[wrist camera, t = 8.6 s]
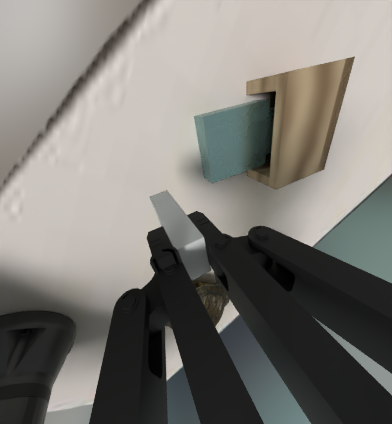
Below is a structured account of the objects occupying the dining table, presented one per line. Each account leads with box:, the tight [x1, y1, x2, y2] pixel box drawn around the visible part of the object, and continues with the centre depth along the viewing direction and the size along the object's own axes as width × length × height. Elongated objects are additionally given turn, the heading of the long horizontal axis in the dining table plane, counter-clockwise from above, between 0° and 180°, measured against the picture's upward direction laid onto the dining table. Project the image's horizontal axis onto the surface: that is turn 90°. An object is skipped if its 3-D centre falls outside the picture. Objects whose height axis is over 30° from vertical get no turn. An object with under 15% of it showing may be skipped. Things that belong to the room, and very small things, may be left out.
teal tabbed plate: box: [194, 99, 275, 183], centre depth 25 cm, size 14×9×3 cm, turn 101°
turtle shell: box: [165, 281, 230, 328], centre depth 41 cm, size 16×9×20 cm
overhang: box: [247, 57, 355, 189], centre depth 25 cm, size 10×14×7 cm
